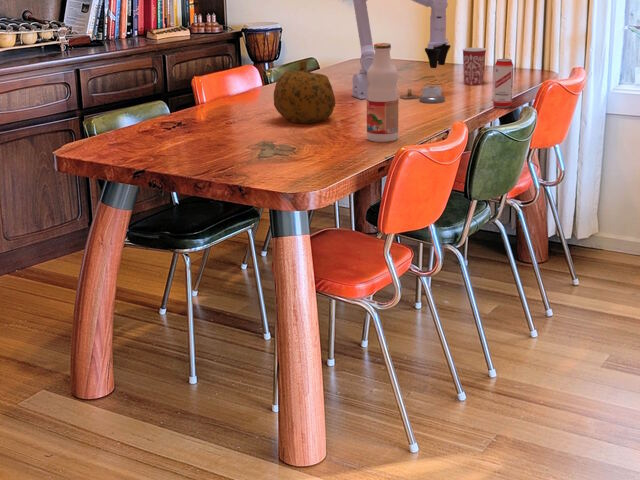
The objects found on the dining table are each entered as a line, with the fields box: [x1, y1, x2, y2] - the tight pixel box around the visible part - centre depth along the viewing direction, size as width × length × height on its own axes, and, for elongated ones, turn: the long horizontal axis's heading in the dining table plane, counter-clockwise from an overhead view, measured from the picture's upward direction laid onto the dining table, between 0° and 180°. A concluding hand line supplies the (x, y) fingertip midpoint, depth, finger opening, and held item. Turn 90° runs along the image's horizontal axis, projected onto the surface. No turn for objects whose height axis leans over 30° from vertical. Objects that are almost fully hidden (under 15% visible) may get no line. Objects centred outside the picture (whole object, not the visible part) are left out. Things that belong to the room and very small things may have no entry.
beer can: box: [492, 58, 514, 109], centre depth 312 cm, size 6×6×16 cm
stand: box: [399, 88, 420, 100], centre depth 335 cm, size 7×7×3 cm
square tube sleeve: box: [421, 85, 443, 99], centre depth 327 cm, size 5×5×4 cm
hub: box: [419, 94, 446, 104], centre depth 328 cm, size 9×9×4 cm
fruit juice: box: [366, 42, 400, 143], centre depth 269 cm, size 9×9×28 cm
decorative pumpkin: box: [273, 60, 336, 125], centre depth 299 cm, size 20×21×20 cm
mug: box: [462, 47, 487, 86], centre depth 359 cm, size 13×9×14 cm
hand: (437, 66), depth 336 cm, fingers open, 7 cm apart
